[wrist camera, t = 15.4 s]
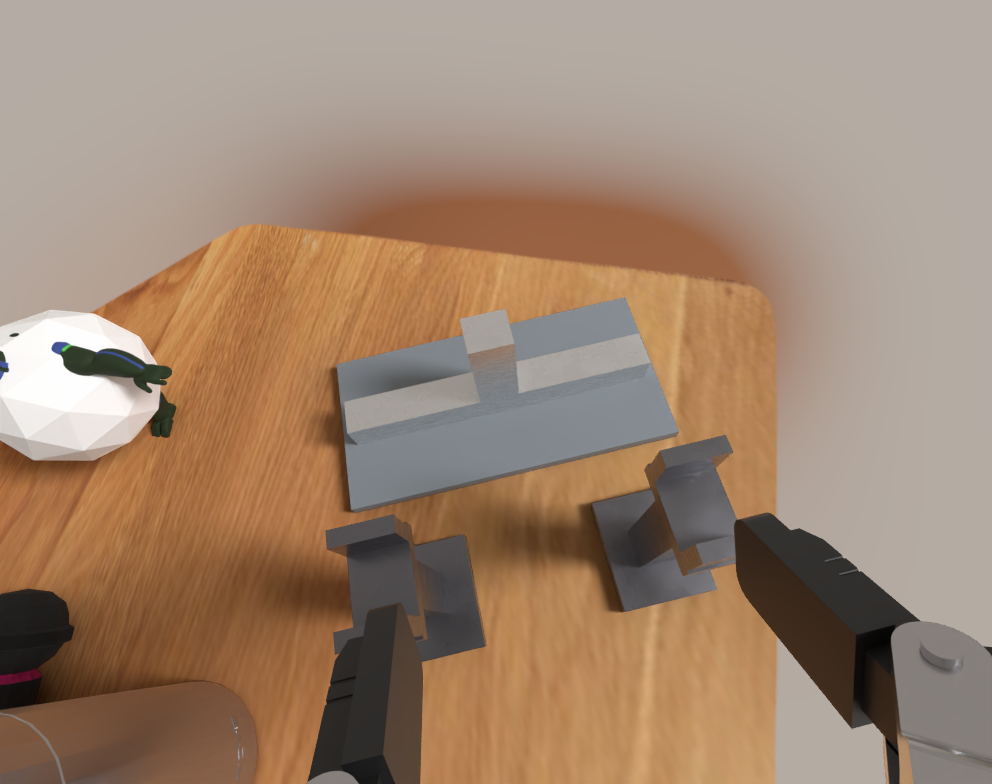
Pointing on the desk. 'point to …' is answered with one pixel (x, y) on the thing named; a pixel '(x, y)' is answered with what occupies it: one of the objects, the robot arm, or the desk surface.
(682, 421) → the desk surface
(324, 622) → the desk surface
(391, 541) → the hook stand
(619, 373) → the rail
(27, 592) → the microphone
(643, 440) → the mat
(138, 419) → the figurine
